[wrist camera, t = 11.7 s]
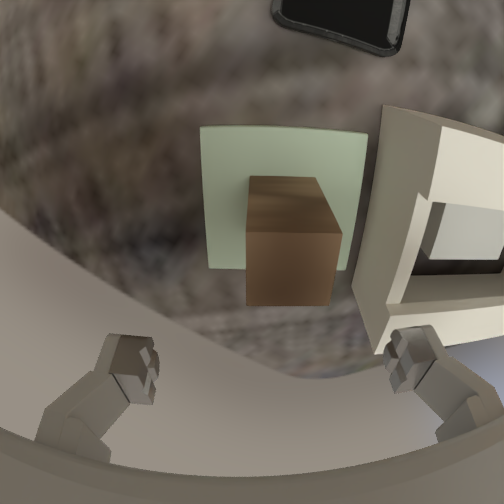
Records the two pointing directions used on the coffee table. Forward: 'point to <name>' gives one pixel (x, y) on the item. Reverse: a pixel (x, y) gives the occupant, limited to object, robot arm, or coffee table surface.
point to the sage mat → (275, 164)
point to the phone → (348, 22)
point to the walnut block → (290, 243)
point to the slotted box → (432, 229)
